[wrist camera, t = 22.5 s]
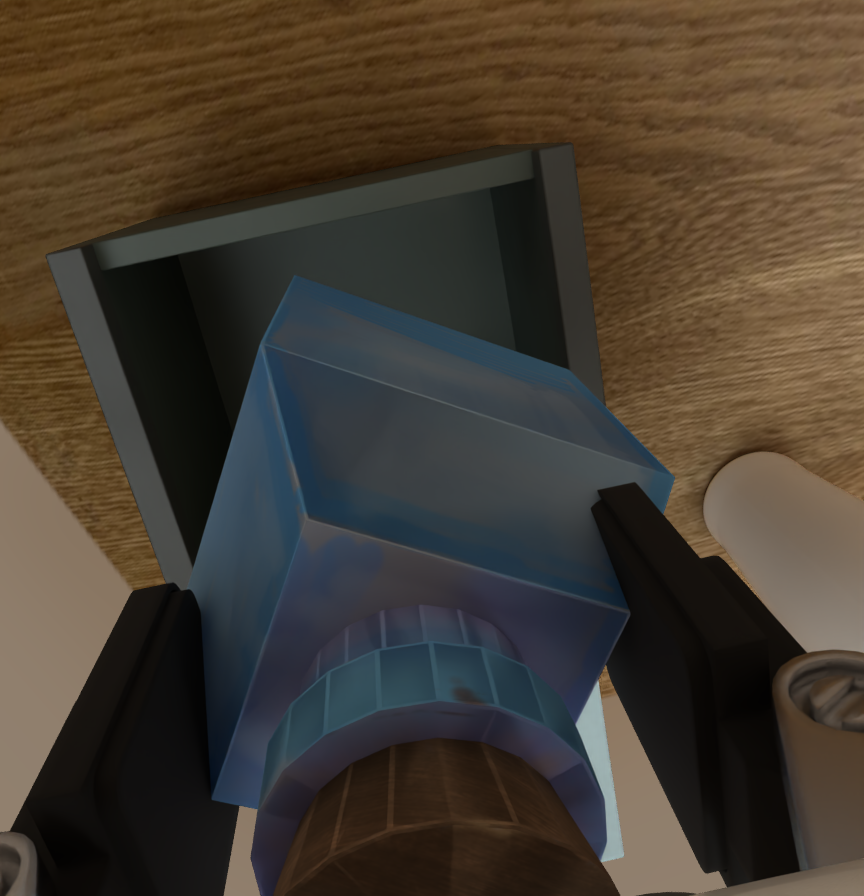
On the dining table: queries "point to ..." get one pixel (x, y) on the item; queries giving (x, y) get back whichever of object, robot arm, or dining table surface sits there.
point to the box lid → (601, 768)
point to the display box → (325, 262)
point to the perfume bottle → (411, 608)
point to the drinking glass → (794, 546)
